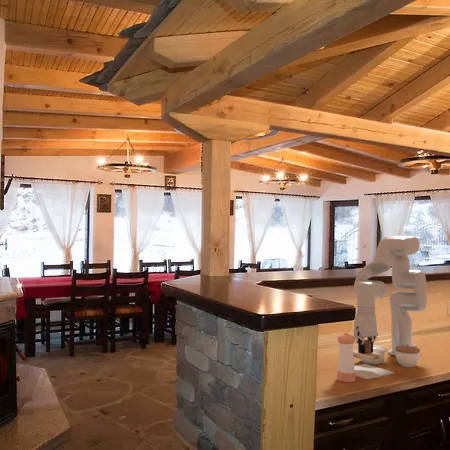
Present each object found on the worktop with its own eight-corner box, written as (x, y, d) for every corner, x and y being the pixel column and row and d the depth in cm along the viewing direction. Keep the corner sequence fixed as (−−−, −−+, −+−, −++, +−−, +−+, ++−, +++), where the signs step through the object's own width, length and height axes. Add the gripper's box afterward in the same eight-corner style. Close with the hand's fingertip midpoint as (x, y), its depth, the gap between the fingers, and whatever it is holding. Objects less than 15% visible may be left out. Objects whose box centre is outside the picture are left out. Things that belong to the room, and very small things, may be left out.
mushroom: (370, 357, 237) (370, 343, 237) (392, 363, 226) (392, 348, 226) (351, 361, 230) (351, 346, 230) (373, 367, 219) (373, 351, 219)
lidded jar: (408, 369, 216) (408, 348, 216) (390, 364, 225) (389, 343, 225) (425, 366, 221) (425, 346, 221) (406, 361, 230) (406, 341, 230)
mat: (365, 365, 223) (365, 363, 223) (394, 373, 209) (394, 372, 209) (338, 370, 214) (338, 368, 214) (366, 379, 200) (366, 378, 200)
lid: (364, 350, 221) (364, 336, 221) (389, 356, 209) (389, 342, 209) (342, 353, 214) (342, 339, 214) (366, 360, 202) (366, 345, 202)
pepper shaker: (341, 376, 205) (341, 330, 205) (357, 379, 201) (357, 332, 201) (334, 380, 199) (334, 333, 199) (351, 383, 195) (351, 335, 195)
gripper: (372, 308, 220) (372, 348, 219) (345, 310, 211) (345, 353, 210) (385, 310, 213) (385, 352, 213) (358, 312, 205) (358, 356, 204)
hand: (365, 352), depth 212 cm, fingers closed on lid, 4 cm apart
